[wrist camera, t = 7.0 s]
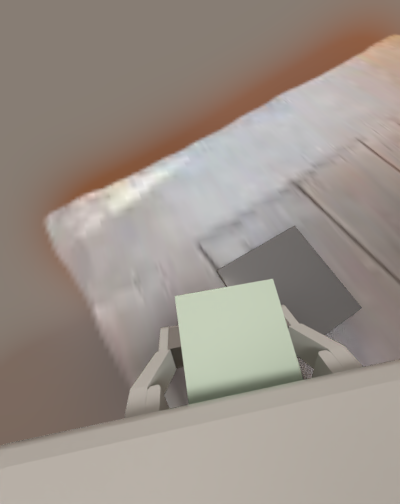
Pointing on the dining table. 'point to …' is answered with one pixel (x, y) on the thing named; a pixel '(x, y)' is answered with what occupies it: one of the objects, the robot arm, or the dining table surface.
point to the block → (234, 341)
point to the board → (295, 280)
